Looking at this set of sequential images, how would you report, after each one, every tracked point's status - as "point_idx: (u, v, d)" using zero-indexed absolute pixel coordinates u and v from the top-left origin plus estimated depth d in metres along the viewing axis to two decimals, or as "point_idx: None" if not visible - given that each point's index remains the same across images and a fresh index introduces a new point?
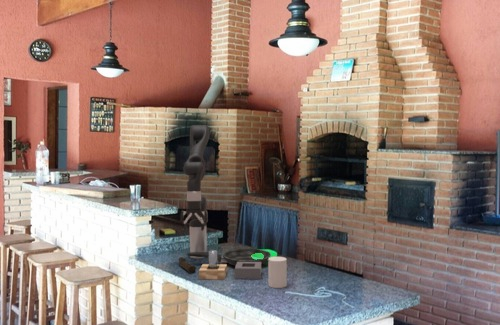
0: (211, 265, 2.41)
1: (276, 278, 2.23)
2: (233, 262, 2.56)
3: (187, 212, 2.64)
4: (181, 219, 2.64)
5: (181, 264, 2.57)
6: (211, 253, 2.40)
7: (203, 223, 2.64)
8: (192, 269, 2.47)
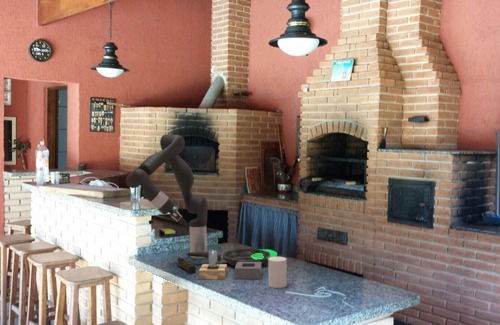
0: (211, 265, 2.41)
1: (276, 278, 2.23)
2: (233, 262, 2.56)
3: None
4: None
5: (180, 264, 2.57)
6: (211, 253, 2.40)
7: (182, 223, 2.33)
8: (192, 269, 2.47)
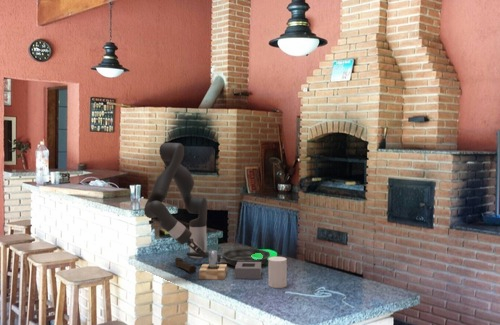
0: (211, 265, 2.41)
1: (276, 278, 2.23)
2: (232, 262, 2.56)
3: None
4: None
5: (179, 264, 2.57)
6: (211, 253, 2.40)
7: (199, 252, 2.35)
8: (193, 269, 2.47)
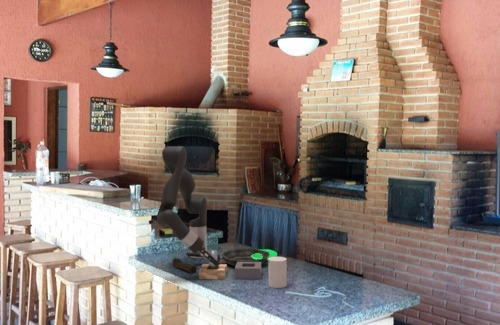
0: (211, 265, 2.41)
1: (276, 278, 2.23)
2: (232, 262, 2.56)
3: None
4: None
5: (177, 265, 2.56)
6: (211, 253, 2.40)
7: (212, 261, 2.39)
8: (193, 269, 2.47)
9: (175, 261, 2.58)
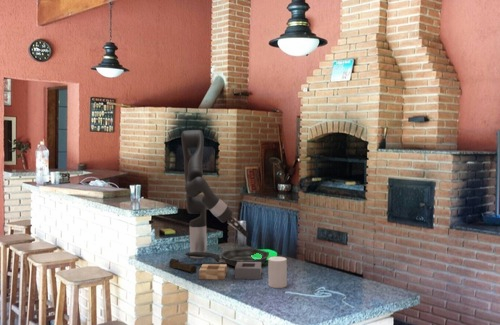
0: (240, 235, 2.39)
1: (276, 278, 2.23)
2: (231, 262, 2.56)
3: None
4: None
5: (175, 265, 2.55)
6: (240, 223, 2.39)
7: None
8: (194, 269, 2.48)
9: (173, 262, 2.56)
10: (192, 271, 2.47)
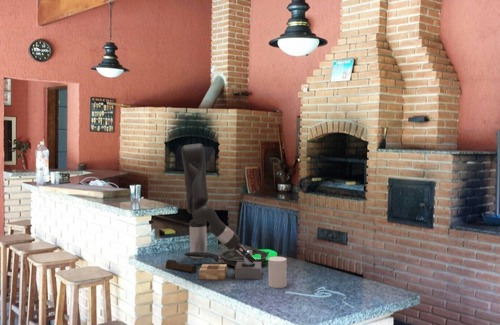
0: (246, 265, 2.41)
1: (276, 278, 2.23)
2: (230, 262, 2.56)
3: None
4: None
5: (174, 266, 2.54)
6: (246, 253, 2.40)
7: (247, 257, 2.37)
8: (195, 269, 2.48)
9: (170, 263, 2.55)
10: (193, 271, 2.47)
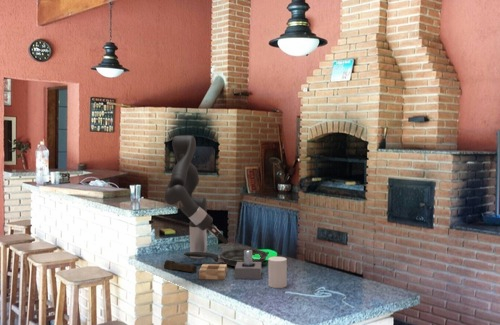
0: (246, 265, 2.41)
1: (276, 278, 2.23)
2: (230, 262, 2.56)
3: None
4: None
5: (173, 267, 2.53)
6: (246, 253, 2.40)
7: None
8: (195, 269, 2.48)
9: (169, 263, 2.54)
10: (193, 271, 2.47)
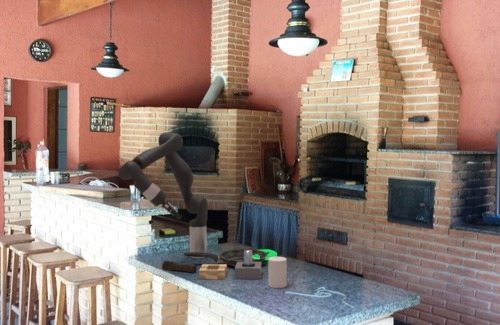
0: (246, 265, 2.41)
1: (276, 278, 2.23)
2: (229, 262, 2.56)
3: None
4: None
5: (172, 267, 2.52)
6: (246, 253, 2.40)
7: (173, 214, 2.35)
8: (195, 269, 2.49)
9: (168, 264, 2.53)
10: (194, 271, 2.48)
